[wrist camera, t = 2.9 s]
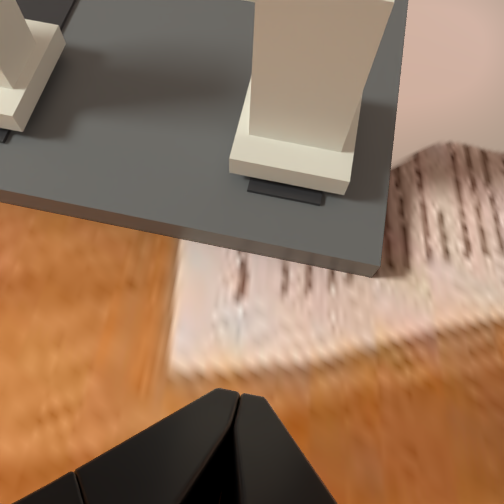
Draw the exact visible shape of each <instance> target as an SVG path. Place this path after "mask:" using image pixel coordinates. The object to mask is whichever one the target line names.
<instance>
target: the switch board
mask: <svg viewBox="0 0 504 504" xmlns="http://www.w3.org/2000/svg"><path fill="white" fill-rule="evenodd" d="M16 2H17V4H18V6H19V8H20V10H21V13H22V15H23V17H24V19H28V20H33V21H39V22H44V23H50V24H55V25H59V27H60V30H61V32H62V35H63V37H64V40H65V42H66V45H65V47H64V49H63V51H62V53H61V55H60V57H59V59H58V61H57V63H56V65H55V67H54V69H53V71H52V73H51V75H50V77H49V79H48V81H47V84H46V86H45V88H44V90H43V92H42V94H41V96H40V98H39V100H38V102H37V104H36V106H35V108H34V110H33V112H32V114H31V116H30V118H29V120H28V122H27V125H26V127H25V129H24V131H23V132H20V131H15V130H10V129H4V128H0V202H3V203H8V204H13V205H18V206H23V207H28V208H33V209H38V210H43V211H48V212H53V213H57V214H62V215H67V216H72V217H77V218H82V219H87V220H92V221H97V222H102V223H107V224H111V225H116V226H121V227H126V228H131V229H136V230H141V231H146V232H151V233H156V234H160V235H165V236H170V237H175V238H180V239H185V240H190V241H195V242H200V243H205V244H210V245H214V246H219V247H224V248H229V249H234V250H239V251H244V252H249V253H254V254H259V255H264V256H268V257H273V258H278V259H283V260H288V261H293V262H298V263H303V264H308V265H313V266H318V267H322V268H327V269H332V270H337V271H342V272H347V273H352V274H357V275H362V276H367V277H371V278H372V276H373V275H374V274H375V272H376V271H377V270H378V269H379V267H380V264H381V255H382V245H383V236H384V226H385V217H386V207H387V198H388V188H389V179H390V169H391V159H392V150H393V141H394V130H395V121H396V111H397V103H398V93H399V84H400V74H401V65H402V55H403V45H404V36H405V26H406V17H407V7H408V0H395V1H394V5H393V8H392V10H391V13H390V16H389V19H388V22H387V24H386V27H385V30H384V33H383V36H382V39H381V41H380V44H379V47H378V50H377V53H376V55H375V58H374V61H373V64H372V67H371V69H370V72H369V75H368V78H367V81H366V83H365V86H364V89H363V93H362V100H361V107H360V114H359V121H358V128H357V135H356V142H355V149H354V156H353V163H352V170H351V177H350V183H349V185H348V187H347V190H346V192H345V194H344V195H341V194H335V193H330V192H325V191H320V190H315V189H310V188H305V187H300V186H295V185H290V184H285V183H279V182H274V181H269V180H264V179H259V178H254V177H249V176H244V175H239V174H234V173H229V157H230V153H231V150H232V146H233V142H234V138H235V135H236V131H237V127H238V124H239V120H240V116H241V112H242V109H243V105H244V101H245V97H246V94H247V90H248V86H249V82H250V79H251V75H252V56H253V36H254V16H255V0H16Z"/></svg>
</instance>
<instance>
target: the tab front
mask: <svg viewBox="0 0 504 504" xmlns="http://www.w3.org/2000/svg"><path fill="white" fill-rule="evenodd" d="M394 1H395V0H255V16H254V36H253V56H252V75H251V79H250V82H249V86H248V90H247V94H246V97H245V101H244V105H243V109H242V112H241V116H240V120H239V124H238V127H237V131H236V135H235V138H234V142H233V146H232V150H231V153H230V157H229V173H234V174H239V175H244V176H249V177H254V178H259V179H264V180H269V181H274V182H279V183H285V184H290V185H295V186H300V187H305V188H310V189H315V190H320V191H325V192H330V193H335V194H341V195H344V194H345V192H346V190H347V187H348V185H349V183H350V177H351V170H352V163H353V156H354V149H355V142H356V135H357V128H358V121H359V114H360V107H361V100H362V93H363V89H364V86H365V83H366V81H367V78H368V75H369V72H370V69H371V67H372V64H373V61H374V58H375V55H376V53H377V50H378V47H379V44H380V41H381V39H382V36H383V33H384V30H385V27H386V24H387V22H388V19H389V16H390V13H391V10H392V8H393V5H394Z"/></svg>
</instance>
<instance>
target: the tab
mask: <svg viewBox="0 0 504 504" xmlns="http://www.w3.org/2000/svg"><path fill="white" fill-rule="evenodd" d="M65 45H66V42H65V40H64V37H63V35H62V32H61V30H60V27H59V25H55V24H50V23H44V22H39V21H33V20H28V19H24V17H23V15H22V13H21V10H20V8H19V6H18V4H17V2H16V0H0V128H4V129H10V130H15V131H20V132H23V131H24V129H25V127H26V125H27V122H28V120H29V118H30V116H31V114H32V112H33V110H34V108H35V106H36V104H37V102H38V100H39V98H40V96H41V94H42V92H43V90H44V88H45V86H46V84H47V81H48V79H49V77H50V75H51V73H52V71H53V69H54V67H55V65H56V63H57V61H58V59H59V57H60V55H61V53H62V51H63V49H64V47H65Z"/></svg>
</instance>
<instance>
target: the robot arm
mask: <svg viewBox="0 0 504 504" xmlns="http://www.w3.org/2000/svg"><path fill="white" fill-rule="evenodd" d="M12 504H337V502H336V501H335V499H334V498H333V496H332V495H331V493H330V492H329V491H328V489H327V488H326V486H325V485H324V483H323V482H322V480H321V479H320V477H319V476H318V475H317V473H316V472H315V470H314V469H313V467H312V466H311V464H310V463H309V461H308V460H307V458H306V457H305V456H304V454H303V453H302V451H301V450H300V448H299V447H298V445H297V444H296V442H295V441H294V439H293V438H292V437H291V435H290V434H289V432H288V431H287V429H286V428H285V426H284V425H283V423H282V422H281V420H280V419H279V418H278V416H277V415H276V413H275V412H274V410H273V409H272V407H271V406H270V404H269V403H268V401H267V400H266V399H265V398H264V397H261V396H256V395H251V394H246V393H244V394H242V395H241V396H240V395H239V393H238V392H236V391H231V390H226V389H222V388H217V389H214V390H213V391H211V392H209V393H207V394H206V395H204V396H202V397H200V398H199V399H197V400H195V401H193V402H192V403H190V404H188V405H187V406H185V407H183V408H181V409H180V410H178V411H176V412H174V413H173V414H171V415H169V416H167V417H166V418H164V419H162V420H161V421H159V422H157V423H155V424H154V425H152V426H150V427H148V428H147V429H145V430H143V431H141V432H140V433H138V434H136V435H134V436H133V437H131V438H129V439H128V440H126V441H124V442H122V443H121V444H119V445H117V446H115V447H114V448H112V449H110V450H108V451H107V452H105V453H103V454H102V455H100V456H98V457H96V458H95V459H93V460H91V461H89V462H88V463H86V464H84V465H82V466H81V467H79V468H77V469H76V470H75V471H74V472H68V473H67V474H65V475H63V476H61V477H60V478H58V479H56V480H54V481H53V482H51V483H49V484H47V485H46V486H44V487H42V488H40V489H38V490H36V491H34V492H33V493H31V494H29V495H27V496H25V497H23V498H22V499H20V500H18V501H16V502H14V503H12Z"/></svg>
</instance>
